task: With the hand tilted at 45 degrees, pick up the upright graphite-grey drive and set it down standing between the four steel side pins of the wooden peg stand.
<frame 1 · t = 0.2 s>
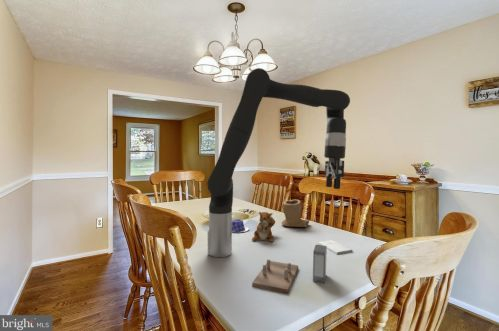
hand: (332, 187, 96), 28 cm above the table, tool pointing down, fingers open, 8 cm apart
wooden peg stand: (276, 276, 83), on the table
external hard drive: (334, 249, 109), on the table
stuffed squirrel: (264, 238, 122), on the table
pudding: (237, 230, 134), on the table
grey drive: (319, 278, 83), on the table
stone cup: (295, 226, 141), on the table
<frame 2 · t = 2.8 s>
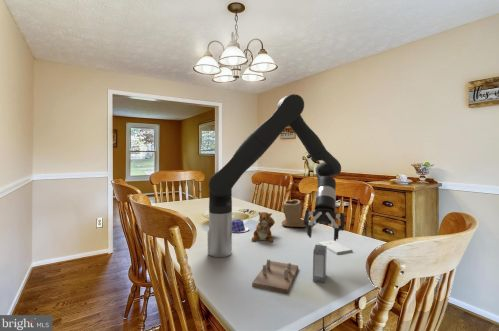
hand: (322, 238, 88), 11 cm above the table, tool tilted 45°, fingers open, 8 cm apart
nothing on the table moved.
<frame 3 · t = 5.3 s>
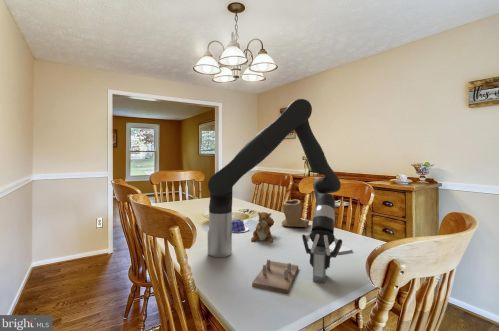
hand: (319, 267, 81), 5 cm above the table, tool tilted 45°, fingers closed on grey drive, 3 cm apart
grey drive: (319, 277, 83), on the table, touching gripper
everything else where it was.
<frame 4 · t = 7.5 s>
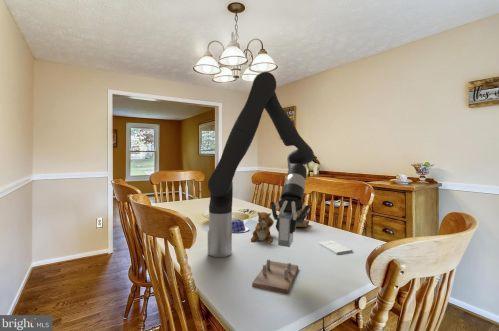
hand: (284, 231, 81), 16 cm above the table, tool tilted 45°, fingers closed on grey drive, 3 cm apart
grey drive: (285, 243, 83), point 11 cm above the table, touching gripper
everything else where it was.
when the fingers open (7 cm above the table, at t = 9.7 s): grey drive stays where it is, resting on wooden peg stand.
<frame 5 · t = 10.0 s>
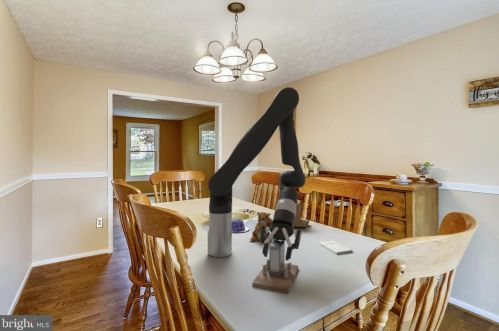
hand: (275, 257, 81), 7 cm above the table, tool tilted 45°, fingers open, 6 cm apart
grey drive: (276, 273, 83), point 1 cm above the table, touching wooden peg stand
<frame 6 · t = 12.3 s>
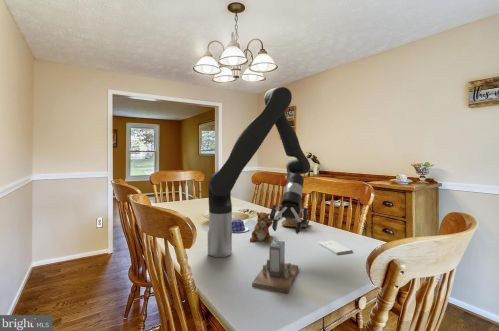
hand: (285, 231, 94), 12 cm above the table, tool tilted 45°, fingers open, 8 cm apart
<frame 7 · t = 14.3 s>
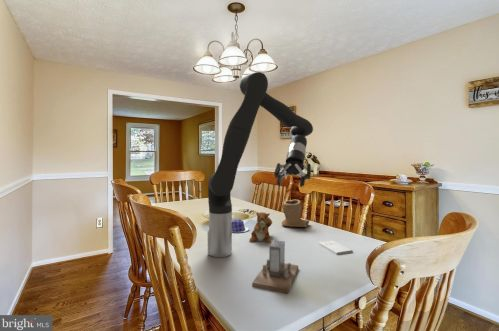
hand: (290, 185, 97), 29 cm above the table, tool tilted 45°, fingers open, 8 cm apart
at the end: grey drive 0.0 cm off-centre on the wooden peg stand, point 1.2 cm above the wooden peg stand's base; grey drive tilted 0°; the gripper is holding nothing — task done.
